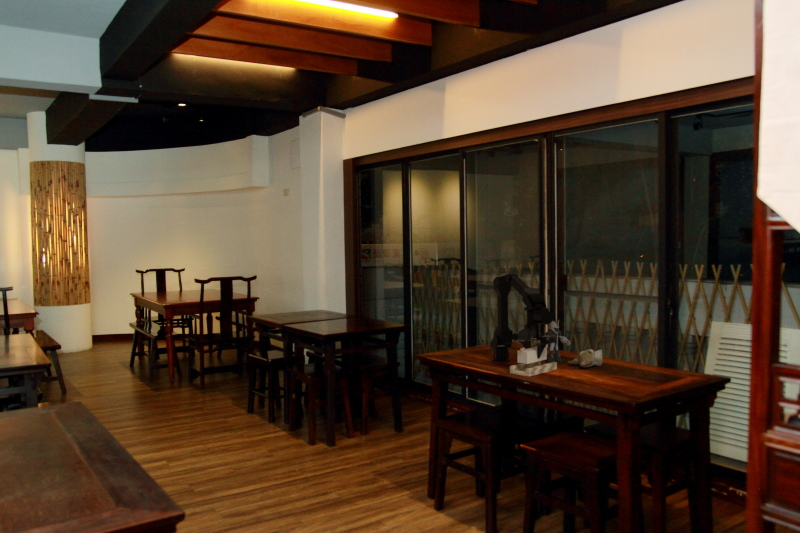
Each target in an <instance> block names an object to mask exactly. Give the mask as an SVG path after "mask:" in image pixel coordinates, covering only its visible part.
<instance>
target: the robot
mask: <svg viewBox="0 0 800 533" xmlns="http://www.w3.org/2000/svg"><path fill="white" fill-rule="evenodd" d="M559 324H560V318H558V320H557V321H556V320H554V319H553V320H552V322H551V323H550V324H548V329H549V330H546V332H545V333H544V336H546V335H549V336H554V338H555V343H551V344H549V345H550V346H549V347H548V352H547V359H546V364H548V363H552V362H557V363H563V358H562V357H561V353H560V346H559V345H558V344H559V340H560V342H561V344H563V345H564V346H566V347H570V346H571V344H572V343H571V341H570V340H569V339H568V338H567V337H566V336H563V335H562V334H563V332H562V330H560V329H559V328H560V326H559ZM558 339H559V340H558ZM545 348H547V345H546V346H545Z"/></svg>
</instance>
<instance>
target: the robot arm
mask: <svg viewBox="0 0 800 533" xmlns="http://www.w3.org/2000/svg"><path fill="white" fill-rule="evenodd" d="M492 280H493V281H492V286H493V291H494V292H495V294H496V295H497V296H496V297H497V308H496V309H497V327H496V328H495V330H494V332H493V338H492V339H491V341H490V343H489V345H490V348H491V349H493V358H492V359H491V361H493V362H498V363H499V362H500V363H505V362H508V361H509V362H510V361H511V359H510V350H509V348H512V345H513V340H514V341H518V343H520V344H521V345H522V346H523V347H522V348H525V349H528V348H532V347H531V346H532V341H538V342H535V345H536V346H535V347H537V358H538V359H539V358H540V356H541V354H542V352H543V350H544V348H546V347H547V345H550V344H551V343H555V338H554V336H549V335H546V336H545V335H543V333H541V327H542V326H543V325H548V326H549V325H550V323H551V322H552V320H553V321H554V316H553V314H552V312H551V311H550V308H549V307H547V303H546V301H545V300H544V297H543V295H542V293H541V292H539V291H538V290H536V289H532V288H530V287H529V286H528V285H527V284H526V283H525V281H523V280H522V278H521V277H519V274H518V273H506V274H505V275H501V276H495V278H494V279H492ZM513 288H514V289H515V291H516V292H517V293H518V294H519V295H520V297H521V301H522V302H523V304H524V305H525V307H524V308H523V311H526V314H525V315H526V318H525V319H526V323H525V324H524V327H523V329H522V328H521V329H520V330H519V331H517V332H513V330H512V329H511V328H510V327H509V295H510V293H511V291H512V290H513ZM545 346H546V347H545Z"/></svg>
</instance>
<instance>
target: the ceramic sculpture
mask: <svg viewBox="0 0 800 533" xmlns="http://www.w3.org/2000/svg"><path fill="white" fill-rule="evenodd" d="M567 363H569V364H572V365H576V366H577V365H579V366H580V367H582V368H591V367H592V366H596V367H601V366H602V364H603V349H598V350H595V351H594V350H593V349H592V348H589V347H588V348H586V350H583V351H580V352H579V354H578V355H577V357H576V358H574V359H573V360H568V361H567Z"/></svg>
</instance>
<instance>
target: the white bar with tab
mask: <svg viewBox="0 0 800 533" xmlns="http://www.w3.org/2000/svg"><path fill="white" fill-rule="evenodd" d="M519 349H520V350H517V364H521V363H524V364H529V363H533V362H538V361H540V362H541V361H545V360H546V361H547V356H548V351H547V350H548V349H547V347H545V348H544V350H543V352H542V354H541V356H540V358H539V359H538V358H537V346H534V347H531V348H528V349H525V348H524V347H520V348H519Z"/></svg>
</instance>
